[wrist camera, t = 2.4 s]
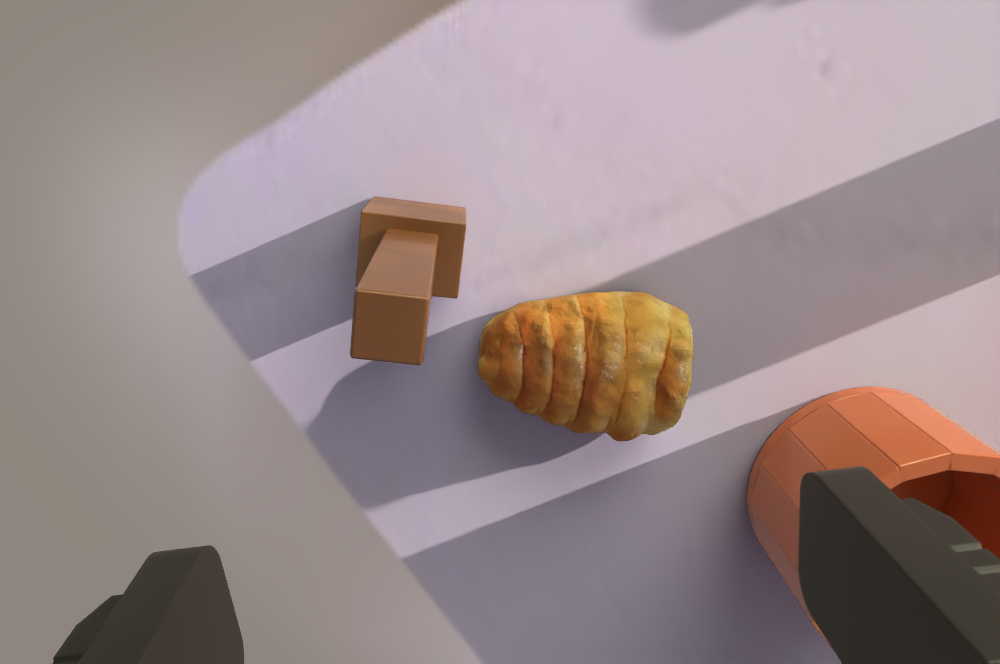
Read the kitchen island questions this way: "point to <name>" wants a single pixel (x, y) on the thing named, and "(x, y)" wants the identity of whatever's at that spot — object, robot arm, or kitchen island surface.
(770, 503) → the crock
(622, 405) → the pastry
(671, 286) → the kitchen island surface
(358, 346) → the wooden mallet
